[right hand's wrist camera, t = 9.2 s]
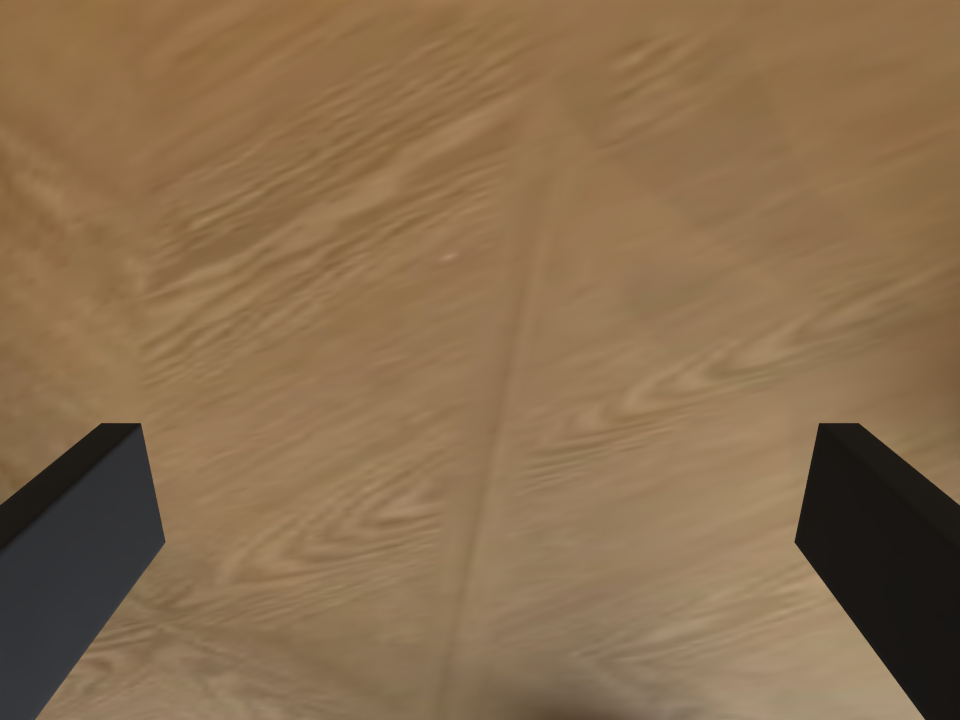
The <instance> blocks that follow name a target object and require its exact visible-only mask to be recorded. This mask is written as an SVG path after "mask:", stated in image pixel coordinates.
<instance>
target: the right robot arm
mask: <svg viewBox="0 0 960 720" xmlns="http://www.w3.org/2000/svg"><path fill="white" fill-rule="evenodd" d="M164 544H165V538H164V533H163V528H162V523H161V518H160V513H159V509H158V504H157V499H156V494H155V489H154V484H153V480H152V475H151V470H150V465H149V460H148V455H147V451H146V446H145V441H144V436H143V431H142V426H141V423H101V424H100V425H99V426H97V427H96V428H95V429H94V430H92V431H91V432H90V433H89V434H88V435H86V436H85V437H84V438H83V439H81V440H80V441H79V442H78V443H76V444H75V445H74V446H73V447H72V448H70V449H69V450H68V451H67V452H65V453H64V454H63V455H62V456H60V457H59V458H58V459H57V460H56V461H54V462H53V463H52V464H51V465H49V466H48V467H47V468H46V469H44V470H43V471H42V472H41V473H40V474H38V475H37V476H36V477H35V478H33V479H32V480H31V481H30V482H29V483H27V484H26V485H25V486H24V487H22V488H21V489H20V490H19V491H17V492H16V493H15V494H14V495H13V496H11V497H10V498H9V499H8V500H6V501H5V502H4V503H3V504H1V505H0V720H35V719H36V717H37V716H38V715H39V713H40V712H41V711H42V709H43V708H44V707H45V705H46V704H47V702H48V701H49V700H50V698H51V697H52V696H53V694H54V693H55V692H56V690H57V689H58V688H59V686H60V685H61V683H62V682H63V681H64V679H65V678H66V677H67V675H68V674H69V673H70V671H71V670H72V669H73V667H74V666H75V664H76V663H77V662H78V660H79V659H80V658H81V656H82V655H83V654H84V652H85V651H86V649H87V648H88V647H89V645H90V644H91V643H92V641H93V640H94V639H95V637H96V636H97V635H98V633H99V632H100V630H101V629H102V628H103V626H104V625H105V624H106V622H107V621H108V620H109V618H110V617H111V616H112V614H113V613H114V611H115V610H116V609H117V607H118V606H119V605H120V603H121V602H122V601H123V599H124V598H125V597H126V595H127V594H128V592H129V591H130V590H131V588H132V587H133V586H134V584H135V583H136V582H137V580H138V579H139V578H140V576H141V575H142V573H143V572H144V571H145V569H146V568H147V567H148V565H149V564H150V563H151V561H152V560H153V559H154V557H155V556H156V554H157V553H158V552H159V550H160V549H161V548H162V546H163V545H164ZM795 544H796V545H797V546H798V548H799V549H800V550H801V552H802V553H803V554H804V556H805V557H806V559H807V560H808V561H809V563H810V564H811V565H812V567H813V568H814V569H815V571H816V572H817V573H818V575H819V576H820V578H821V579H822V580H823V582H824V583H825V584H826V586H827V587H828V588H829V590H830V591H831V592H832V594H833V595H834V597H835V598H836V599H837V601H838V602H839V603H840V605H841V606H842V607H843V609H844V610H845V611H846V613H847V614H848V616H849V617H850V618H851V620H852V621H853V622H854V624H855V625H856V626H857V628H858V629H859V630H860V632H861V633H862V635H863V636H864V637H865V639H866V640H867V641H868V643H869V644H870V645H871V647H872V648H873V649H874V651H875V652H876V654H877V655H878V656H879V658H880V659H881V660H882V662H883V663H884V664H885V666H886V667H887V669H888V670H889V671H890V673H891V674H892V675H893V677H894V678H895V679H896V681H897V682H898V683H899V685H900V686H901V688H902V689H903V690H904V692H905V693H906V694H907V696H908V697H909V698H910V700H911V701H912V702H913V704H914V705H915V707H916V708H917V709H918V711H919V712H920V713H921V715H922V716H923V717H924V719H925V720H960V505H959V504H957V503H956V502H955V501H954V500H952V499H951V498H950V497H949V496H947V495H946V494H945V493H944V492H943V491H941V490H940V489H939V488H938V487H936V486H935V485H934V484H933V483H931V482H930V481H929V480H928V479H927V478H925V477H924V476H923V475H922V474H920V473H919V472H918V471H917V470H916V469H914V468H913V467H912V466H911V465H909V464H908V463H907V462H906V461H904V460H903V459H902V458H901V457H900V456H898V455H897V454H896V453H895V452H893V451H892V450H891V449H890V448H888V447H887V446H886V445H885V444H884V443H882V442H881V441H880V440H879V439H877V438H876V437H875V436H874V435H872V434H871V433H870V432H869V431H868V430H866V429H865V428H864V427H863V426H861V425H860V424H859V423H819V426H818V431H817V436H816V441H815V446H814V451H813V455H812V460H811V465H810V470H809V475H808V480H807V484H806V489H805V494H804V499H803V504H802V509H801V513H800V518H799V523H798V528H797V533H796V538H795Z"/></svg>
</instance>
